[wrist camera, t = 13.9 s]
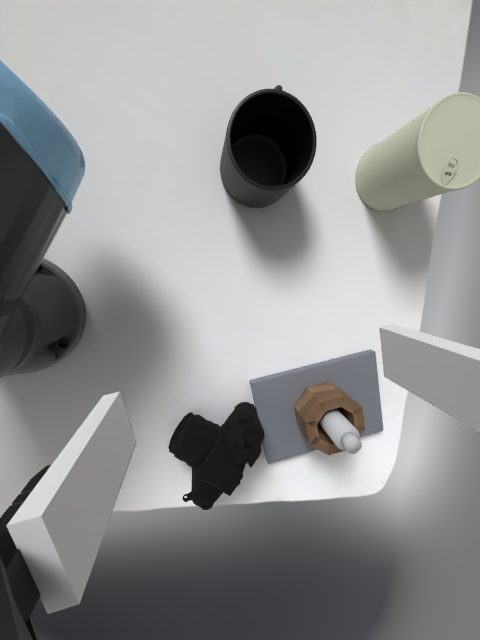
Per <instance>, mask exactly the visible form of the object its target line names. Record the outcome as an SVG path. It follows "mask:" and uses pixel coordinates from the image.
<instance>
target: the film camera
mask: <svg viewBox="0 0 480 640" xmlns="http://www.w3.org/2000/svg"><path fill="white" fill-rule="evenodd" d="M264 436H265V435H264V429H263V427H262V425H261V423H260V420H259V418H258V415H257V412H256V409H255V407H254V405H253V404H250V403H249V402H242V403H240V404H238V405H237V406H236V407H235V409H234V411H233V412H232V413H231V415H230V416H229V417H228V419H227V420H226V421H225V423H224V424H223V425H222V426H221V427H220V426H219V425H217V424H214V423H213V422H211V421H207V420H206V419H204V418H203V417H201V416H200V415H194V414H193V413H191V412H190V413H188V414H187V415H186V416H185V417H184V418H183V419H182V421H181V422H180V423H179V425H178V426H177V428H176V430H175V431H174V434H173V436H172V438H171V440H170V445H169V449H170V450H169V452H171V453H173V454H174V456H175V457H176V458H178V459H179V460H181V461H184V462H186V463H187V465H189V466H191V467H192V490H191V492H190V493H188V494H185V495H184V496H186V495H187V498H184V496H183V500H184V501H185V502H187V501H189V500H192V501H193V503H194V504H195V505H198V506H199V507H201V508H202V509H203V510H208V509H210V508H211V507H212V506H213V504H214V502H215V501H216V500H217V499H218V498H219V497H220V495H221V494H222V493H223V492H224V493H225V494H227V495H229V496H230V495H231V494H232V492H233V491H234V490H235V488H236V487H237V486H238V485H239V484H240V480H241V479H242V477H243V471H244V467H245V464H246V463H248V464H249V466H250V467H252V465H253V464H254V463H255V461H256V460H257V459H258V457H259V455H260V453H261V443H262V441H263V439H264Z"/></svg>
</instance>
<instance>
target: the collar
mask: <svg viewBox="0 0 480 640" xmlns="http://www.w3.org/2000/svg"><path fill="white" fill-rule="evenodd" d="M335 408H338V411H339V412H340V413H341V414H342V415H343V416H344V417H345V418H346V419H347V420H348V421H349V422H350V423H351V424H352V425H353V426H354V427H355V428H356V429H357V430H358V432H359V434H360V436H361V434H362V433H363V431H364V430H365V423H364V415H363V407H362V406H361V405H359V404H358V403H357V402H356V401H355V400H354V399H352V398H351V397H350V396H349V395H348V394H346V393H345V392H344V391H342V390H341V389H339V388H338V387H336V386H334V385H333V384H331V383H329V382H328V381H327V382H323V383H320V384H316V385H312V386H308V387H306V388H305V390H304V391H303V393H302V394H301V396H300V397H299V398H298V400H297V401H296V403H295V404H294V410H295V415H296V421H297V426H298V427H299V429H300V430H301V432H302V434H303V435H304V437H305V438H306V440H307V442H308V443H309V445H311V446H312V447H314V448H316V449H318V450H320V451H322V452H324V453H325V454H327V455H331V454H334V453H338V452H341V451H343V450H340V449H339V448H338V447H337V446H336V445H335V443H334V442H333V441H332V440H331V438H330V437H329V436H328V434H327V433H326V432H325V430H324V429H323V428H322V427H321V425H317V423H318V422H319V420H320V419H321V418H322V416H323V415H324V413H325V412H326V411H328V410H332V409H335Z"/></svg>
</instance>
